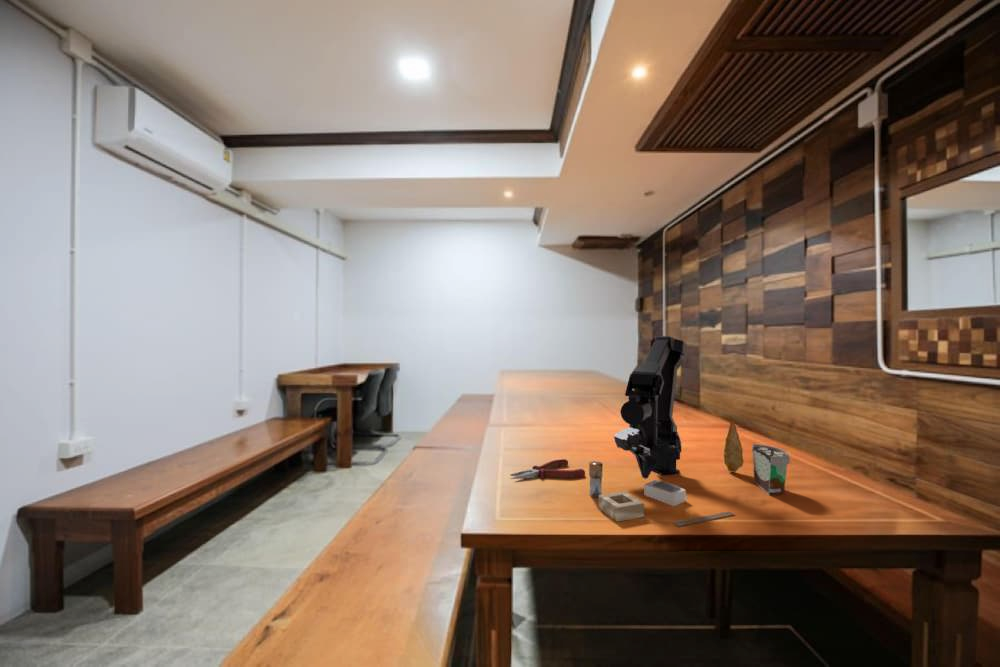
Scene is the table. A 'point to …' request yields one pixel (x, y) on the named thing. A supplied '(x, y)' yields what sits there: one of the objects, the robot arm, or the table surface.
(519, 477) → the pliers
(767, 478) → the food container
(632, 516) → the socket block
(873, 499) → the table surface
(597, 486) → the flashlight
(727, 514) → the bar
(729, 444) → the stone tool
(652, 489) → the stud finder
